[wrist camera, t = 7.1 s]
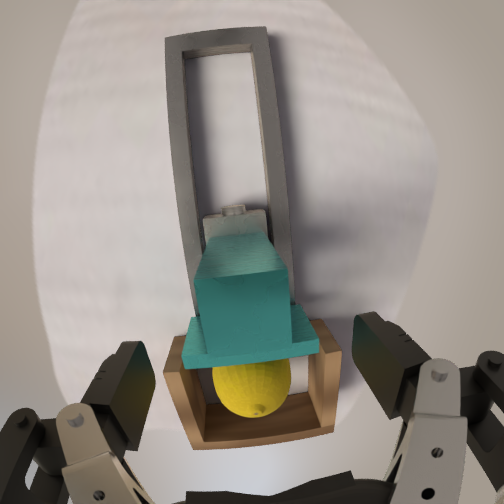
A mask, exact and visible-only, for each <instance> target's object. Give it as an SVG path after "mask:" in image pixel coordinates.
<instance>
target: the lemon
mask: <svg viewBox="0 0 504 504" xmlns="http://www.w3.org/2000/svg"><path fill="white" fill-rule="evenodd" d="M212 375H213V381H214V386H215V390H216V393H217V395H218V397H219V398H220V400H221V402H222V403H223V404H224V406H225V407H227V408H228V409H229V410H230V411H232V412H234V413H235V414H237V415H240V416H244V417H250V418H254V417H262V416H265V415H268V414H270V413H272V412H273V411H275V410H276V409H278V408H279V407H280V406H281V405H282V404H283V402H284V401H285V399H286V397H287V396H288V393H289V389H290V384H291V371H290V363H289V360H288V358H286V359H279V360H272V361H265V362H258V363H250V364H241V365H232V366H221V367H213V369H212Z"/></svg>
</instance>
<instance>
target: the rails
mask: <svg viewBox="0 0 504 504" xmlns="http://www.w3.org/2000/svg"><path fill="white" fill-rule="evenodd" d="M241 52H251V59H252V67H253V75H254V83H255V91H256V99H257V108H258V116H259V125H260V134H261V143H262V152H263V161H264V171H265V181H266V190H267V200H268V211H269V221H270V232H271V243H272V245H273V247H274V248H275V250H276V251H277V253H278V254H279V256H280V258H281V259H282V261H283V262H284V264H285V265H286V267H287V268H288V278H289V293H290V306H291V305H295V290H294V273H293V258H292V244H291V231H290V218H289V206H288V195H287V185H286V174H285V165H284V155H283V146H282V137H281V128H280V120H279V112H278V104H277V96H276V89H275V82H274V75H273V68H272V61H271V54H270V48H269V41H268V35H267V29H266V27H241V28H228V29H217V30H209V31H201V32H194V33H188V34H182V35H176V36H171V37H166V38H165V69H166V91H167V108H168V122H169V134H170V146H171V156H172V166H173V175H174V183H175V192H176V200H177V207H178V215H179V222H180V229H181V235H182V242H183V248H184V254H185V260H186V266H187V272H188V278H189V283H190V289H191V294H192V299H193V304H194V309H195V314H196V317H200V314H199V309H198V303H197V298H196V293H195V287H194V282H193V280H194V277H195V274H196V271H197V269H198V266H199V263H200V261H201V258H202V255H203V253H204V247H203V240H202V233H201V226H200V218H199V211H198V203H197V195H196V186H195V178H194V169H193V159H192V150H191V139H190V129H189V117H188V105H187V91H186V76H185V59H189V58H196V57H203V56H210V55H219V54H229V53H241Z"/></svg>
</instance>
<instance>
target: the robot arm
mask: <svg viewBox="0 0 504 504" xmlns="http://www.w3.org/2000/svg"><path fill="white" fill-rule="evenodd" d="M352 357H353V360H354V363H355V365H356V366H357V368H358V369H359V371H360V373H361V374H362V376H363V377H364V379H365V381H366V382H367V384H368V385H369V387H370V389H371V390H372V392H373V394H374V395H375V397H376V398H377V400H378V402H379V403H380V405H381V406H382V408H383V410H384V411H385V413H386V415H387V416H388V418H389V419H390V420H391V419H393V418H396V417H399V416H401V417H402V419H403V422H402V425H401V429H400V432H399V436H398V439H397V442H396V446H395V449H394V452H393V456H392V459H391V462H390V465H389V467H388V470H387V472H386V474H385V477H384V478H383V481H381V480H375V479H354V478H353V475H352V473H351V471H347V472H344V473H340V474H336V475H332V476H328V477H324V478H320V479H315V480H311V481H309V482H307V483H304V484H302V485H299V486H297V487H294V488H292V489H289V490H287V491H284V492H281V493H278V494H275V495H272V496H261V495H251V494H242V493H235V492H229V491H218V492H217V491H216V492H215V491H214V492H194V491H186V501H181V502H177V503H174V504H458V500H459V495H460V490H461V484H462V478H463V471H464V463H465V453H466V443H467V444H468V446H469V447H470V449H471V451H472V452H473V454H474V455H475V457H476V458H477V460H478V461H479V463H480V465H481V466H482V468H483V470H484V471H485V473H486V475H487V476H488V478H489V480H490V481H491V483H492V485H493V486H494V488H495V490H496V492H497V495H496V501H495V502H496V503H495V504H504V426H503V425H502V424H501V423H500V421H499V420H498V419H497V418H496V416H495V415H494V414H493V413H492V411H491V410H490V409H491V407H492V405H493V404H494V402H495V403H496V404H497V406H498V407H499V408H500V409H501V410H502V412H503V413H504V354H502V353H500V352H497V351H486V352H483V353H482V354H480V356H479V357H478V360H477V363H476V365H475V366H471V367H465V368H458V367H457V366H456V365H455V364H454V363H453V362H451V361H448V360H446V359H439V358H438V359H432V358H431V357H430V356H429V355H428V354H427V353H426V352H425V351H423V349H422V348H421V347H420V346H419V345H418V344H417V343H416V342H415V341H414V340H412V338H411V337H410V336H409V335H408V334H407V335H406V332H405V331H404V330H403V329H402V328H401V327H400V326H398V325H396V324H394V323H392V322H390V321H384V320H383V319H382V318H381V317H380V316H379V315H378V314H377V313H376V312H374V311H373V312H369V313H364V314H359V315H356V316H355V318H354V328H353V341H352ZM155 384H156V381H155V374H154V371H153V368H152V365H151V363H150V360H149V357H148V354H147V351H146V348H145V345H144V343H143V342H142V341H126V342H122V343H121V345H120V347H119V348H118V350H117V352H116V354H112V355H111V356H109V357H108V358H107V359H106V360H105V361H104V362H103V363H102V365H101V366H100V368H99V370H98V372H97V373H96V375H95V377H94V379H93V380H92V382H91V384H90V386H89V387H88V389H87V391H86V393H85V395H84V396H83V398H82V400H81V402H80V403H74V404H70V405H68V406H66V407H65V408H63V409H62V410H61V411H60V412H59V413H58V415H57V417H56V418H53V419H42V420H40V418H39V417H38V415H37V414H36V413H35V411H34V410H32V409H30V408H22V409H18V410H16V411H15V412H13V413H12V414H11V415H10V417H9V418H8V420H7V421H6V423H5V425H4V427H3V428H2V430H1V432H0V504H67V503H68V499H69V495H70V497H71V500H72V502H73V504H155V503H154V502H153V501H152V499H151V498H150V497H149V495H148V494H147V492H146V491H145V489H144V488H143V486H142V485H141V483H140V482H139V480H138V479H137V477H136V475H135V474H134V472H133V471H132V469H131V467H130V466H129V464H128V462H127V460H126V459H125V458H124V454H125V451H126V450H130V451H138V447H139V443H140V439H141V436H142V432H143V428H144V425H145V421H146V417H147V414H148V410H149V407H150V403H151V400H152V397H153V393H154V390H155ZM32 459H33V460H34V461H35V462H36V463H37V464H38V465H39V466H38V469H37V472H36V474H35V477H34V479H33V482H32V485H31V487H30V490H28V488H27V487H26V484H25V476H26V473H27V471H28V468H29V466H30V464H31V461H32Z"/></svg>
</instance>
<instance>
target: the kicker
mask: <svg viewBox="0 0 504 504" xmlns="http://www.w3.org/2000/svg"><path fill="white" fill-rule="evenodd" d="M221 211H222V214H213V215H206V216H205V217H204V218H203V226H204V233H205V241H206V248H205V250H204V253H203V255H202V258H201V261H200V263H199V266H198V269H197V271H196V274H195V277H194V280H193V282H194V287H195V293H196V298H197V303H198V309H199V314H200V317H191V320H190V324H189V328H188V332H187V335H186V339H185V343H184V347H183V351H182V355H181V357H182V360H183V364H184V367H185V369H196V368H210V367H221V366H232V365H241V364H250V363H258V362H265V361H272V360H279V359H286V358H292V357H298V356H304V355H309V354H315V353H319V338H318V336H317V334H316V332H315V330H314V328H313V327H312V325H311V323H310V321H309V319H308V318H307V316H306V314H305V312H304V310H303V309H302V307H301V305H300V304H298V305H291V306H290V293H289V278H288V268H287V267H286V265H285V264H284V262H283V261H282V259H281V258H280V256H279V254H278V253H277V251H276V250H275V248H274V247H273V245H272V244H271V242H270V241H269V239H268V233H267V222H266V212H265V211H264V210H263V209H256V210H247V211H246V210H245V205H232V206H225V207H221Z"/></svg>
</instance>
